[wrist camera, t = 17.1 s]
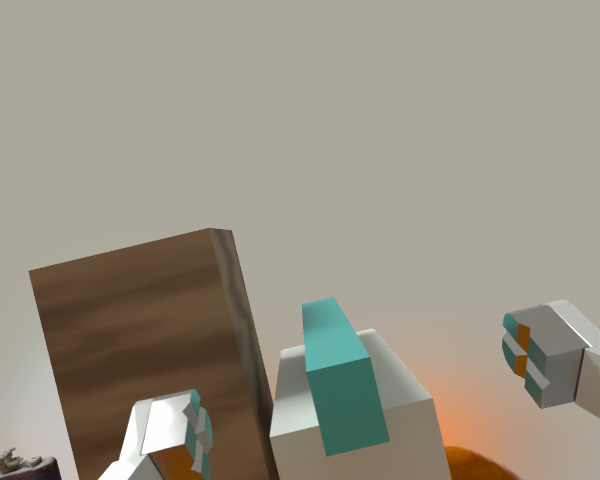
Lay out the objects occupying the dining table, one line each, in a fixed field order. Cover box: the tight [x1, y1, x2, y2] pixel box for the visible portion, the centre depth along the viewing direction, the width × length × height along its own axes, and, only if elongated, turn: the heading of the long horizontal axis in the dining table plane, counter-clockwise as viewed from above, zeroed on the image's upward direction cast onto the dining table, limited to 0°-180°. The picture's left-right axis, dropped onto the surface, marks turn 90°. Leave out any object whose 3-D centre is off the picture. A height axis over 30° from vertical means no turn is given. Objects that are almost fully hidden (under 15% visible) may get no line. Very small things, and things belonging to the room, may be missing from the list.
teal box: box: [302, 297, 390, 457], centre depth 30 cm, size 20×3×4 cm, turn 1°
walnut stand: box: [29, 228, 280, 480], centre depth 33 cm, size 10×12×26 cm
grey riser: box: [270, 328, 452, 480], centre depth 32 cm, size 18×9×14 cm, turn 1°
